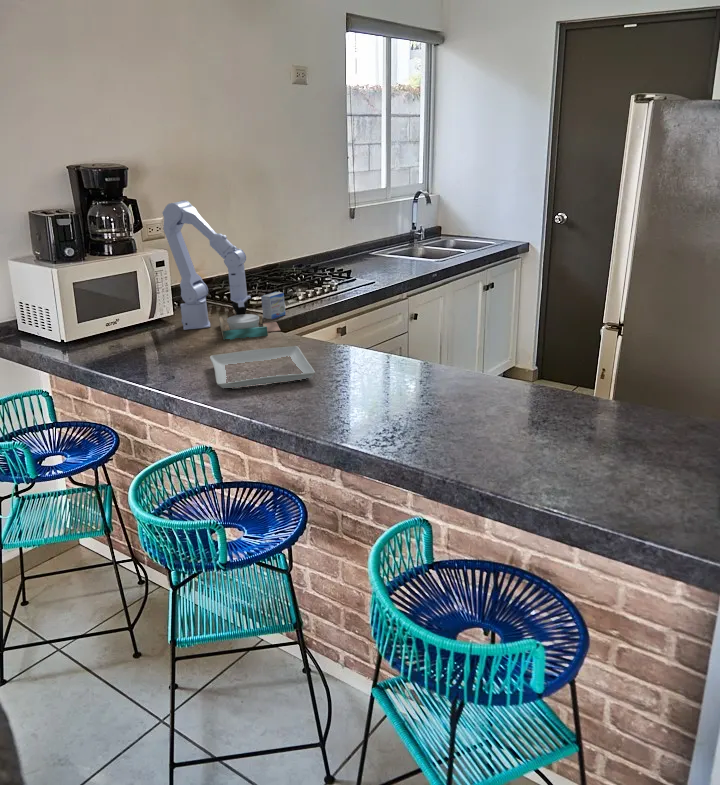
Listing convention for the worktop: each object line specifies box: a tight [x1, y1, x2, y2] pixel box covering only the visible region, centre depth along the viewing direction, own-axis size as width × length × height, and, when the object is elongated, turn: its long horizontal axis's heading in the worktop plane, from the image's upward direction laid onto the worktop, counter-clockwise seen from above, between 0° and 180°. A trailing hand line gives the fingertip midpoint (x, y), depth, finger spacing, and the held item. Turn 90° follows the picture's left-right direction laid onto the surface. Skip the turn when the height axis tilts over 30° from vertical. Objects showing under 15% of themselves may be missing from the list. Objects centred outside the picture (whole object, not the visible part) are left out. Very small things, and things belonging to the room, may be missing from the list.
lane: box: [219, 313, 282, 341], centre depth 250 cm, size 20×20×3 cm
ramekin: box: [226, 313, 260, 330], centre depth 246 cm, size 11×11×5 cm
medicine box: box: [260, 291, 286, 320], centre depth 265 cm, size 8×4×9 cm, turn 143°
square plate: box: [209, 345, 316, 389], centre depth 205 cm, size 27×27×4 cm
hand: (241, 322), depth 253 cm, fingers closed
